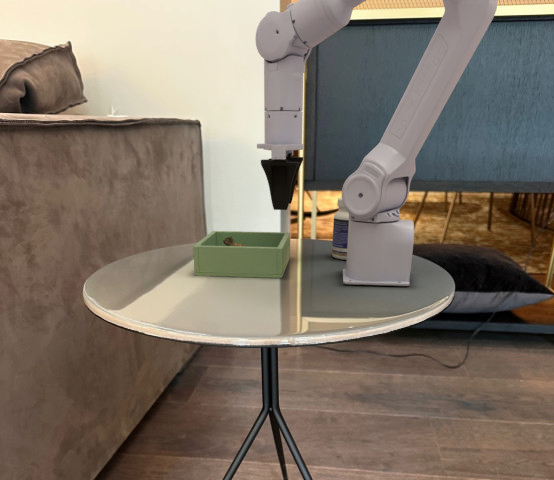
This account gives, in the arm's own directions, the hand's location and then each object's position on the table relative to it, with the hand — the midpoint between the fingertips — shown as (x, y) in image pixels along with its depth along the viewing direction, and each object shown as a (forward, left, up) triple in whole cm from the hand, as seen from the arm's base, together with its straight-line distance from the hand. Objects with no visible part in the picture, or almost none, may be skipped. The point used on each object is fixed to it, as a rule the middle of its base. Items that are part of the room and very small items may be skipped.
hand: (282, 206), depth 84 cm
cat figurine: (+6, +2, -9) cm, 11 cm away
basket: (+6, +2, -9) cm, 11 cm away
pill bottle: (-11, -7, -10) cm, 16 cm away
